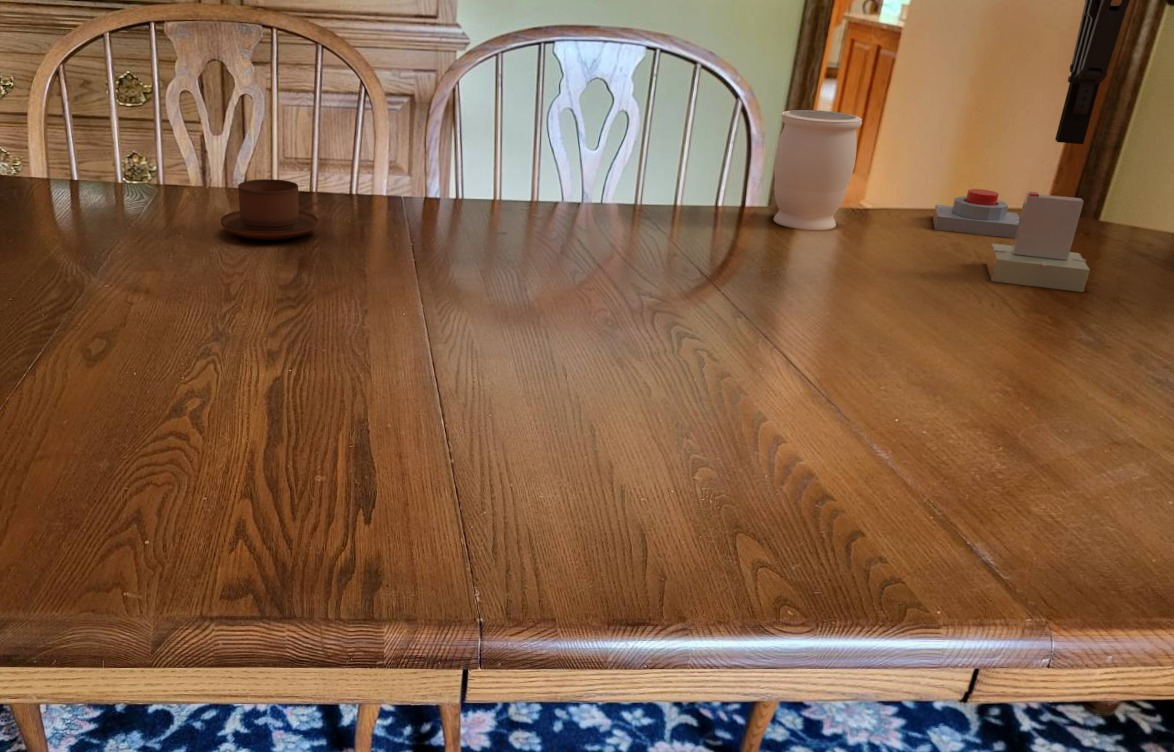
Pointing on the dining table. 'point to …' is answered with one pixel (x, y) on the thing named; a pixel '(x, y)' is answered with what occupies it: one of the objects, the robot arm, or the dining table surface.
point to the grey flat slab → (1047, 226)
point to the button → (982, 197)
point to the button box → (976, 218)
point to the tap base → (1037, 269)
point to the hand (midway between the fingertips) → (1069, 141)
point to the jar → (813, 167)
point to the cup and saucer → (269, 211)
